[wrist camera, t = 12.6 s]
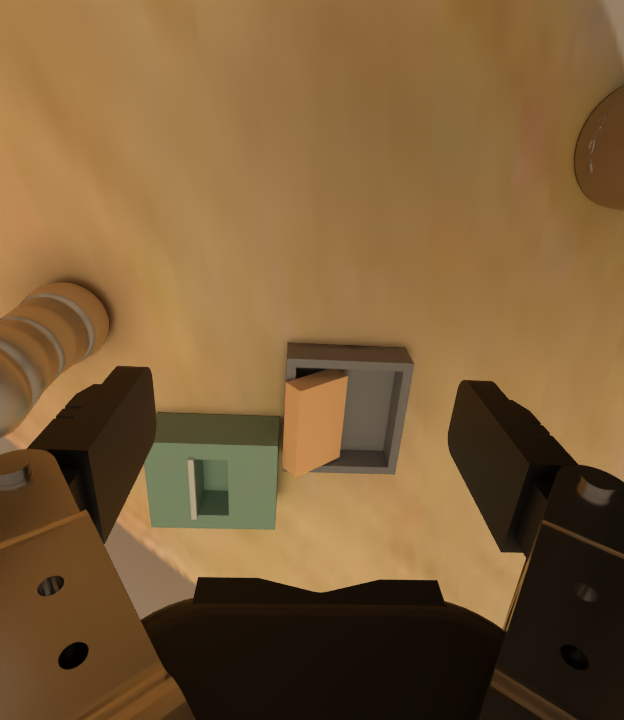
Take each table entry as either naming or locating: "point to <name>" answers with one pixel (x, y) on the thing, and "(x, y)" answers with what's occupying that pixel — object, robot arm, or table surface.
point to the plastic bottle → (45, 344)
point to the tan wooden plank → (313, 420)
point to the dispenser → (213, 471)
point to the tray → (362, 401)
